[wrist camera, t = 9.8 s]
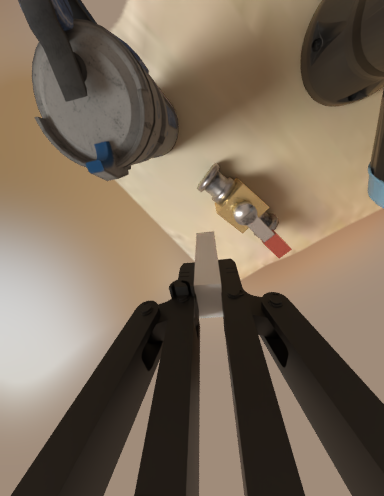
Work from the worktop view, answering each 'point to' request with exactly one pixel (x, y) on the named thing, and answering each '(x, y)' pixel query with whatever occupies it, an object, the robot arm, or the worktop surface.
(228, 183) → the valve pipe
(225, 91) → the worktop surface
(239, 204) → the lever
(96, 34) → the beverage bottle
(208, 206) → the worktop surface
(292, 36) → the worktop surface
